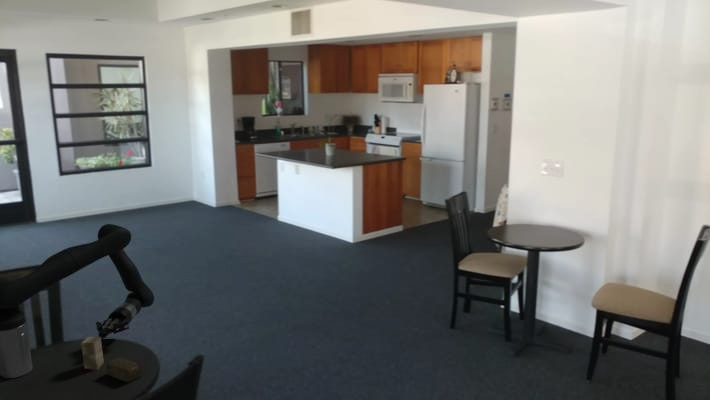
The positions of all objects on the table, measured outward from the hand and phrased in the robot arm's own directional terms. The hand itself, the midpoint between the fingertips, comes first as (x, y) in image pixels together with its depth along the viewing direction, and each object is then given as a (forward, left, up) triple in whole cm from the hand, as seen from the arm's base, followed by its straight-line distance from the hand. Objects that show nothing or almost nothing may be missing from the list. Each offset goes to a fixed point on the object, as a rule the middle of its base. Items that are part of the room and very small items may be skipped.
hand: (101, 336), depth 198 cm
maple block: (0, -7, -8) cm, 10 cm away
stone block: (+13, -13, -8) cm, 20 cm away
